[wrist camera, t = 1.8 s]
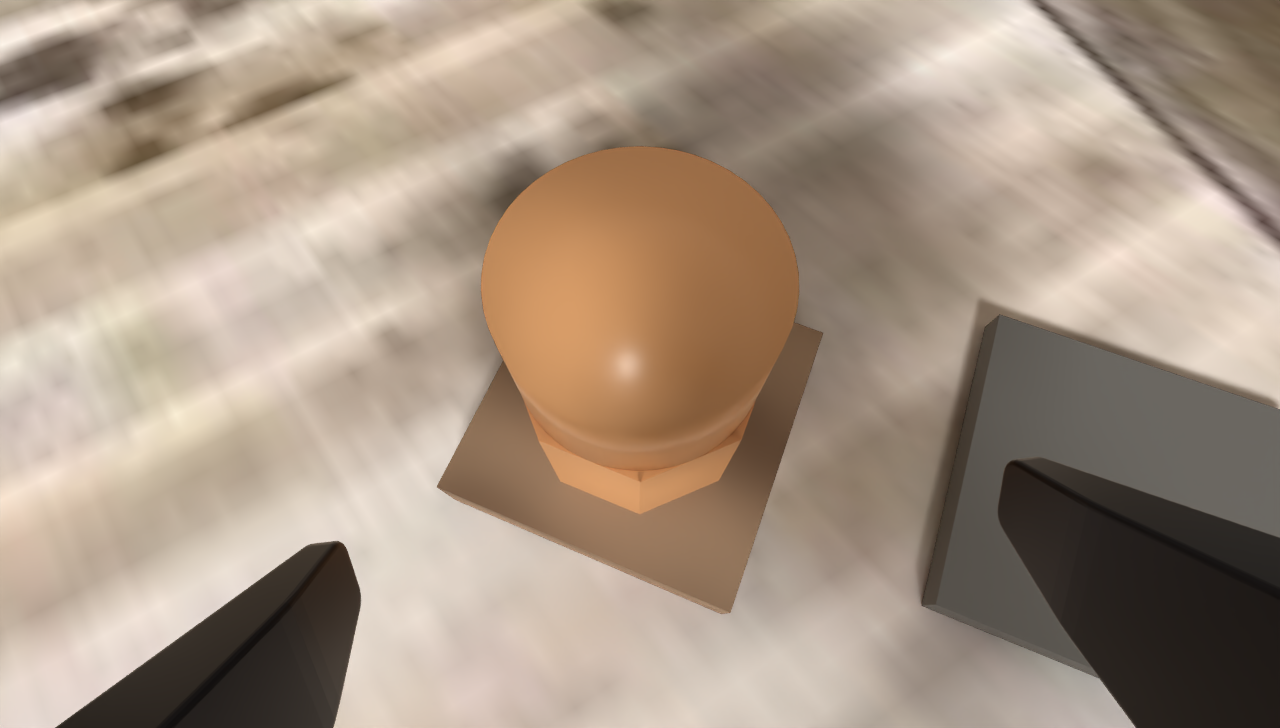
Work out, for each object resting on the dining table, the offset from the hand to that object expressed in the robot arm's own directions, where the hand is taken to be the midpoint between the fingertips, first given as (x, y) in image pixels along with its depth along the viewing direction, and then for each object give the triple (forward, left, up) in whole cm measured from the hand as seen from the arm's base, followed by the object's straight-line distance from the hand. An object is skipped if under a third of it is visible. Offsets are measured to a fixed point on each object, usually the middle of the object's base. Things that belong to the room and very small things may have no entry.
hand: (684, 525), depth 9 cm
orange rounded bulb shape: (+4, +2, -10) cm, 11 cm away
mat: (+7, -13, -12) cm, 19 cm away
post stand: (+4, +2, -12) cm, 13 cm away
